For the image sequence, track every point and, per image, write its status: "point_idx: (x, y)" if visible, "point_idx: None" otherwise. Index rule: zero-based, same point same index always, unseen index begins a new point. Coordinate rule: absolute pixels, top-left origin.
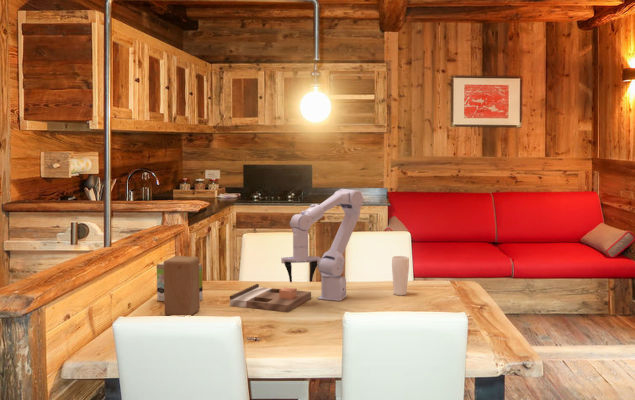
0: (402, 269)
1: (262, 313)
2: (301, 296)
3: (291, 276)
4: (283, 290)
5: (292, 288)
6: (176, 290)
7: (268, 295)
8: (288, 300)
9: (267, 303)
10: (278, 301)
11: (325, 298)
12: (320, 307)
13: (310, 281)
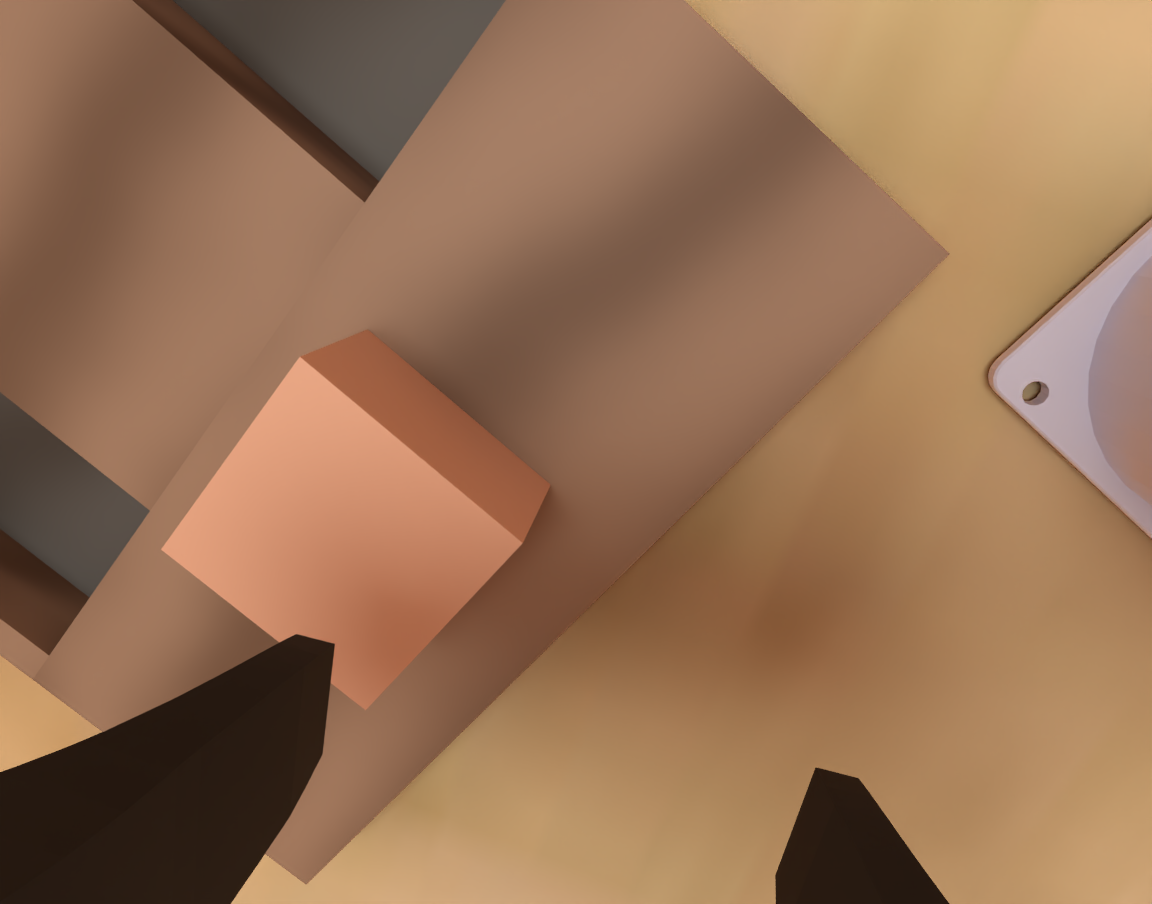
0: None
1: (60, 749)
2: (625, 531)
3: (225, 901)
4: (237, 594)
5: (440, 509)
6: None
7: (86, 254)
8: None
9: (58, 693)
10: (209, 674)
11: (1100, 472)
12: (801, 794)
13: (778, 884)
